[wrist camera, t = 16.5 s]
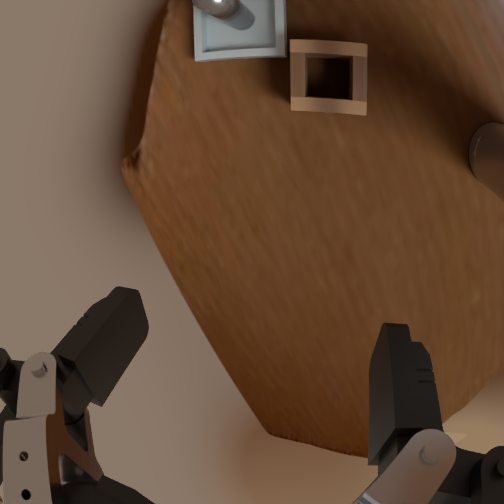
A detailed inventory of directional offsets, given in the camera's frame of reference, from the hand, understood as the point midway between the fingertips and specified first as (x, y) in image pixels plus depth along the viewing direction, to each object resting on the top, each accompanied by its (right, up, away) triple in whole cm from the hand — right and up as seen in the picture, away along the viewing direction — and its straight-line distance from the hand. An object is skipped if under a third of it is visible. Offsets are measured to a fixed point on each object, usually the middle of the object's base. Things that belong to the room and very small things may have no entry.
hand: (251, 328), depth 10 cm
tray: (-1, +31, +21) cm, 38 cm away
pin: (-1, +31, +21) cm, 37 cm away
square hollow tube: (+9, +23, +23) cm, 34 cm away
